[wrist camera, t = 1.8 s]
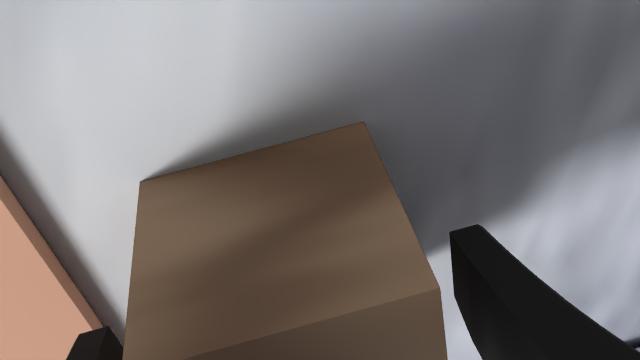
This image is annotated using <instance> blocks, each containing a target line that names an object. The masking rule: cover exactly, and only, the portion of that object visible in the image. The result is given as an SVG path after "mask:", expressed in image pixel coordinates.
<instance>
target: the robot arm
mask: <svg viewBox="0 0 640 360" xmlns="http://www.w3.org/2000/svg"><path fill="white" fill-rule="evenodd" d="M449 234H450V247H451V260H452V273H453V286H454V296H455V299H456V301H457V304H458V306H459V309H460V312H461V314H462V317H463V319H464V322H465V324H466V326H467V329H468V331H469V334H470V336H471V338H472V341H473V343H474V344H475V346H476V348H477V350H478V352H479V354H480V356H481V358H482V359H483V360H640V347H638V348H635V349H634V348H633V347H631V346H630V345H628V344H627V343H625V342H624V341H622V340H621V339H619V338H618V337H616V336H615V335H613V334H612V333H610V332H609V331H608V330H606V329H605V328H603V327H602V326H600V325H599V324H598V323H596V322H595V321H594V320H592V319H591V318H589V317H588V316H587V315H585V314H584V313H583V312H581V311H580V310H579V309H577V308H576V307H575V306H573V305H572V304H571V303H569V302H568V301H567V300H565V299H564V298H563V297H562V296H561V295H559V294H558V293H557V292H556V291H554V290H553V289H552V288H551V287H549V286H548V285H547V284H546V283H544V282H543V281H542V280H541V279H540V278H538V277H537V276H536V275H535V274H534V273H532V272H531V271H530V270H529V269H528V268H527V267H525V266H524V265H523V264H522V263H521V262H520V261H519V260H518V259H516V258H515V257H514V256H513V255H512V254H511V253H510V252H509V251H508V250H506V249H505V248H504V247H503V246H502V245H501V244H500V243H499V242H498V241H497V240H496V239H495V238H494V237H493V236H492V235H491V234H490V233H489V232H488V231H487V230H486V229H485V228H484V227H482V226H480V225H478V224H477V225H473V226H469V227H466V228H462V229H459V230H455V231H451V232H449ZM123 349H124V348H123V347H122V345H121V344H120V342H119V341H118V339H117V338H116V337H115V335H114V334H113V332H112V331H111V329H110V328H109V326H106V327H103V328H99V329H96V330H92V331H88V332H85V333H81V334H79V335H78V337H77V338H76V340H75V342H74V344H73V346H72V348H71V350H70V352H69V354H68V356H67V358H66V360H122V359H123Z"/></svg>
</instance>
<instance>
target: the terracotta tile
mask: <svg viewBox="0 0 640 360" xmlns="http://www.w3.org/2000/svg"><path fill="white" fill-rule="evenodd" d="M99 328H103V325H102V324H101V322H100V321H99V319H98V318H97V316H96V315H95V313H94V312H93V310H92V309H91V307H90V306H89V305H88V303H87V302H86V300H85V299H84V297H83V296H82V294H81V293H80V291H79V290H78V288H77V287H76V286H75V284H74V283H73V281H72V280H71V278H70V277H69V275H68V274H67V272H66V271H65V269H64V268H63V267H62V265H61V264H60V262H59V261H58V259H57V258H56V256H55V255H54V253H53V252H52V250H51V249H50V247H49V246H48V245H47V243H46V242H45V240H44V239H43V237H42V236H41V234H40V233H39V231H38V230H37V228H36V227H35V226H34V224H33V223H32V221H31V220H30V218H29V217H28V215H27V214H26V212H25V211H24V209H23V208H22V207H21V205H20V204H19V202H18V201H17V199H16V198H15V196H14V195H13V193H12V192H11V190H10V189H9V187H8V186H7V185H6V183H5V182H4V180H3V179H2V177H1V176H0V360H66V358H67V356H68V354H69V352H70V350H71V348H72V346H73V344H74V342H75V340H76V338H77V337H78V335H79V334H81V333H85V332H88V331H92V330H96V329H99Z"/></svg>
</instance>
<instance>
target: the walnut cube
mask: <svg viewBox="0 0 640 360" xmlns="http://www.w3.org/2000/svg"><path fill="white" fill-rule="evenodd" d="M122 360H448V359H447V349H446V340H445V330H444V320H443V311H442V301H441V292H440V286H439V284H438V282H437V280H436V278H435V276H434V273H433V271H432V269H431V267H430V265H429V263H428V260H427V258H426V256H425V254H424V252H423V249H422V247H421V245H420V243H419V241H418V239H417V236H416V234H415V232H414V230H413V228H412V226H411V223H410V221H409V219H408V217H407V215H406V212H405V210H404V208H403V206H402V204H401V202H400V199H399V197H398V195H397V193H396V191H395V189H394V186H393V184H392V182H391V180H390V178H389V175H388V173H387V171H386V169H385V167H384V165H383V162H382V160H381V158H380V156H379V154H378V152H377V149H376V147H375V145H374V143H373V141H372V138H371V136H370V134H369V132H368V130H367V128H366V125H365V123H364V122H360V123H356V124H352V125H349V126H345V127H341V128H338V129H334V130H330V131H326V132H323V133H319V134H315V135H312V136H308V137H304V138H300V139H297V140H293V141H289V142H286V143H282V144H278V145H274V146H271V147H267V148H263V149H260V150H256V151H252V152H248V153H245V154H241V155H237V156H234V157H230V158H226V159H222V160H219V161H215V162H211V163H208V164H204V165H200V166H196V167H193V168H189V169H185V170H182V171H178V172H174V173H170V174H167V175H163V176H159V177H156V178H152V179H148V180H144V181H141V182H140V186H139V196H138V207H137V217H136V227H135V237H134V247H133V257H132V268H131V278H130V288H129V298H128V308H127V318H126V329H125V339H124V349H123V359H122Z"/></svg>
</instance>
